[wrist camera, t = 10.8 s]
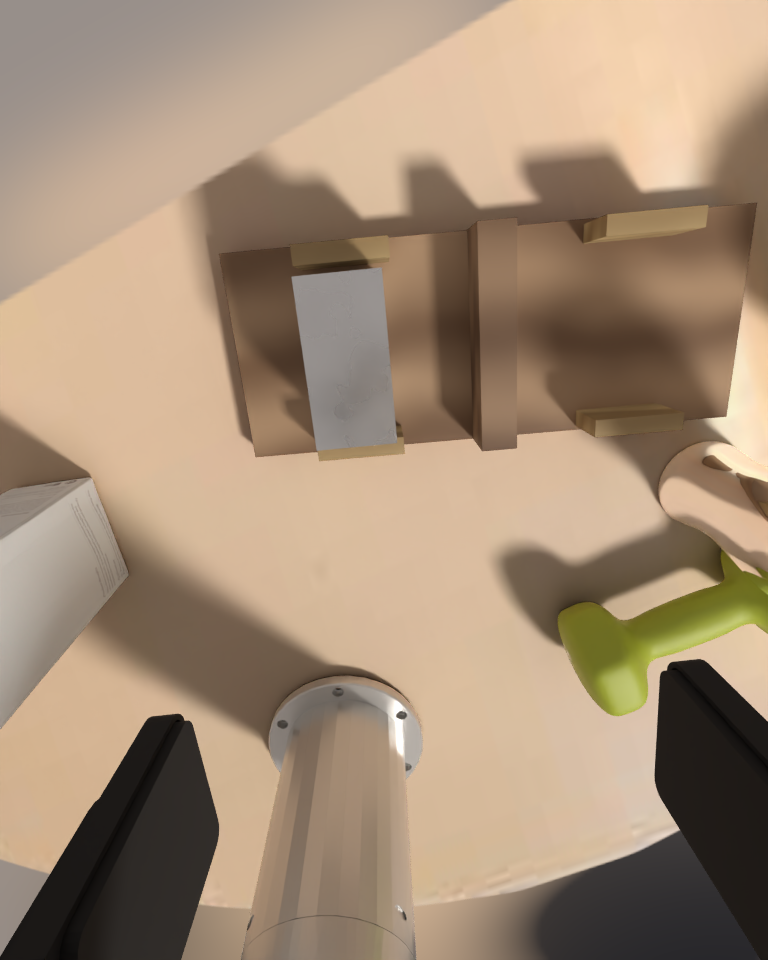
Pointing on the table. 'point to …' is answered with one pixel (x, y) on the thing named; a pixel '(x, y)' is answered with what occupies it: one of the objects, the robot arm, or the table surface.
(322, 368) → the grey rectangular block
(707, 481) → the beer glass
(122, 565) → the skincare box
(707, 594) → the dumbbell
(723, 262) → the board
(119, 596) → the table surface
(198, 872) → the robot arm
